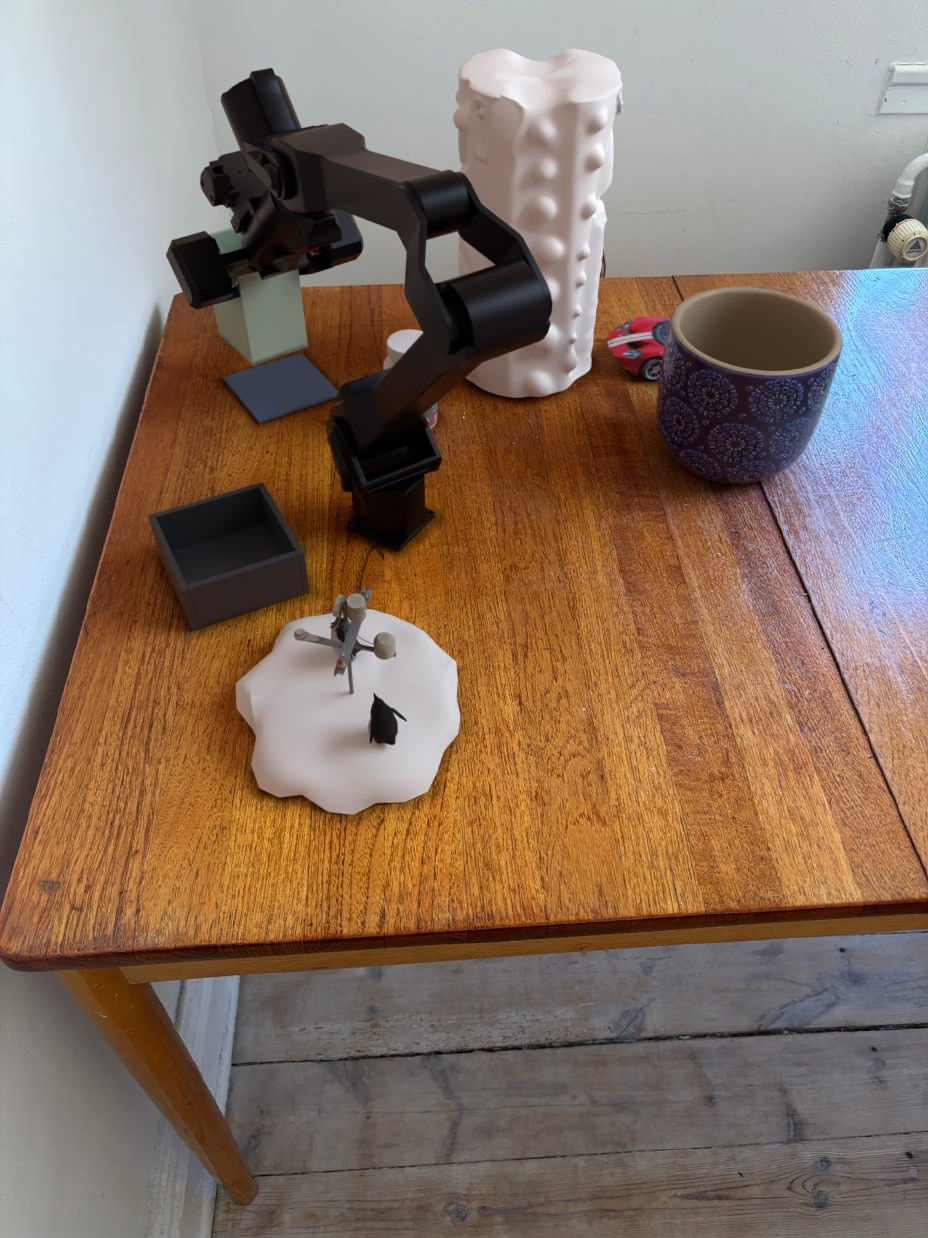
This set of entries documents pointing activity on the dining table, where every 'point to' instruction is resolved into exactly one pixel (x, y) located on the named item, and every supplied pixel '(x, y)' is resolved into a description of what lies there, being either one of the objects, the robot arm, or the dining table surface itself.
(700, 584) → the dining table surface
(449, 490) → the dining table surface
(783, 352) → the planter
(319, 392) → the mat
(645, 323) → the toy car
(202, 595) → the charcoal basket
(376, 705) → the figurine
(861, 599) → the dining table surface
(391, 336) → the pill bottle
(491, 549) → the dining table surface
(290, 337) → the green basket
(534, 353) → the vase
